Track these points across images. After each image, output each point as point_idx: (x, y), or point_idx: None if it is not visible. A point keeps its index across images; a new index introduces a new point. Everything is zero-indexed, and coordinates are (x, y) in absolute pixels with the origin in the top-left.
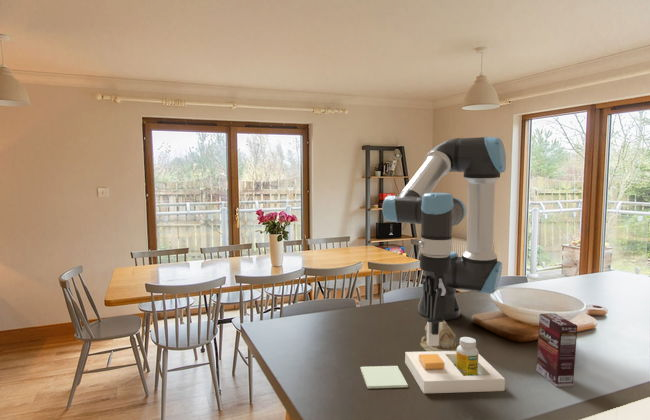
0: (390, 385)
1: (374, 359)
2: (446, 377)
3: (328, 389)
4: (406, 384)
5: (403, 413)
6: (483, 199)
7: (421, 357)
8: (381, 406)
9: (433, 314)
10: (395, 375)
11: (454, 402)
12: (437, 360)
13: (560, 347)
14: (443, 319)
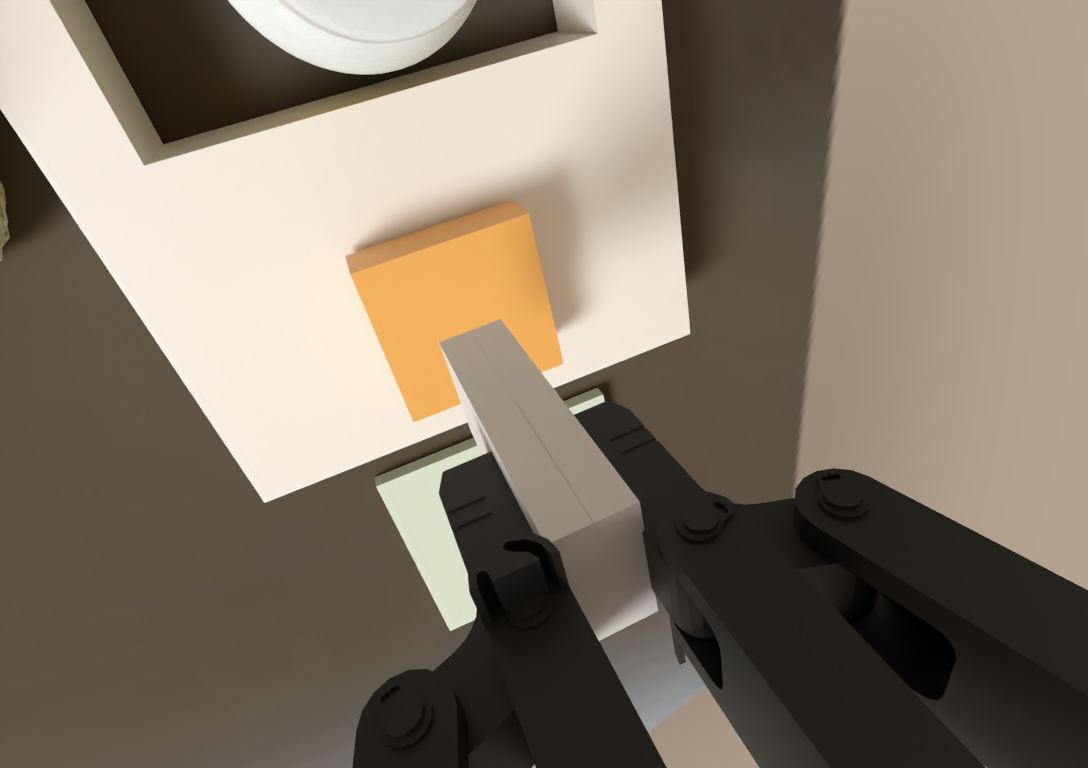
0: None
1: (297, 607)
2: (636, 189)
3: (644, 641)
4: (598, 401)
5: (800, 374)
6: None
7: None
8: (751, 458)
9: (907, 679)
10: None
11: (731, 129)
12: (493, 273)
13: None
14: (899, 496)
